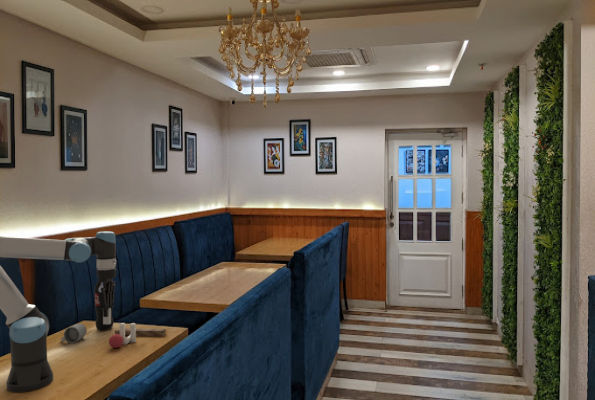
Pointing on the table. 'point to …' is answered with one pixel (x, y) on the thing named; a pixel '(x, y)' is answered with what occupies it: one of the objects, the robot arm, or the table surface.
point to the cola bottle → (101, 312)
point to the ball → (115, 341)
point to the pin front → (126, 340)
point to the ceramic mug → (74, 333)
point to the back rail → (144, 332)
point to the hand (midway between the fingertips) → (107, 323)
